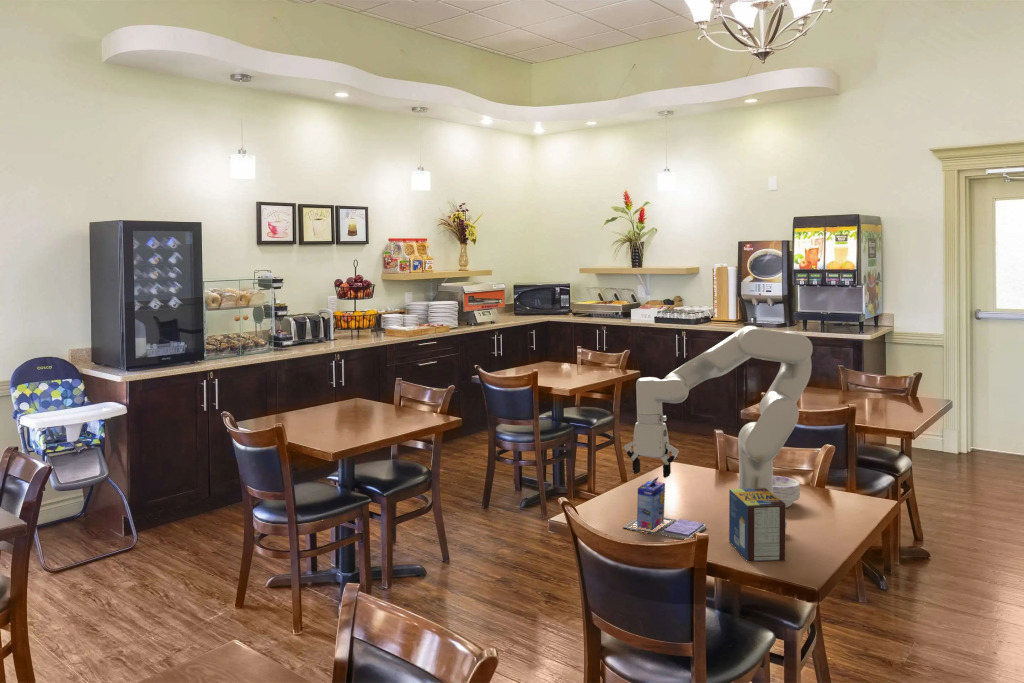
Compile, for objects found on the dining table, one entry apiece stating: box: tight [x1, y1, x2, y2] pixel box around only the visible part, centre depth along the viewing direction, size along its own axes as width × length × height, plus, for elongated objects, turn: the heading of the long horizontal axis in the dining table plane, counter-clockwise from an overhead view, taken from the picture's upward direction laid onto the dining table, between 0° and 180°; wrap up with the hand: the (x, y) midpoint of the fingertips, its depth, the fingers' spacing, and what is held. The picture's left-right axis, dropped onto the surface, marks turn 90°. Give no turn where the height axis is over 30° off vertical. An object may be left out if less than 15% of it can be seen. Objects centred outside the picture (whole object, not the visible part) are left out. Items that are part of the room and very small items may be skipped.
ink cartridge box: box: [636, 476, 666, 530], centre depth 231 cm, size 10×6×14 cm, turn 148°
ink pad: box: [661, 518, 707, 540], centre depth 226 cm, size 9×13×2 cm
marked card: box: [622, 516, 677, 535], centre depth 232 cm, size 11×15×1 cm
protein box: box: [728, 488, 787, 562], centre depth 209 cm, size 10×15×16 cm
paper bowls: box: [773, 475, 801, 508], centre depth 250 cm, size 15×15×8 cm
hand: (651, 474), depth 231 cm, fingers open, 9 cm apart
